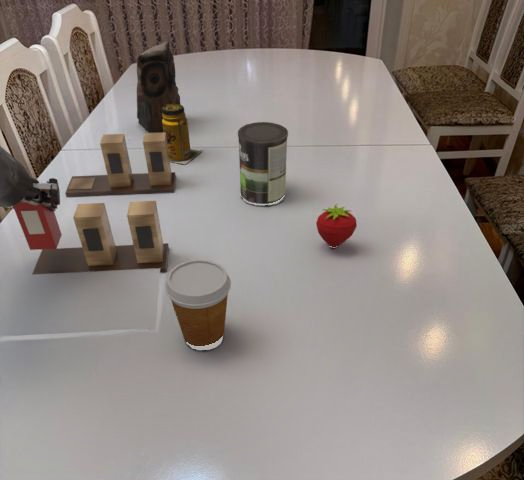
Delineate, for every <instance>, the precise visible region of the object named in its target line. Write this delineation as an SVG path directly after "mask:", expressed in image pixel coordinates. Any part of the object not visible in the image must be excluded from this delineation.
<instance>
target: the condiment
mask: <svg viewBox="0 0 524 480" xmlns="http://www.w3.org/2000/svg"><path fill="white" fill-rule="evenodd" d="M180 104H181V103H180ZM180 104H168V105H165V106H164V107H163V108H162V113H163V120H162V125H163V131H164V132H166V138H167V145H168V152H169V159H170V163H176V164H180V165H181V164H182V165H186V164H187V163H189V162H190V161H191V160H193V159H195V157H197V156H198V155H200V154H201V152H203V150H200V149H199V150H198V149H193V148H191V141H190V132H189V131H190V130H189V124H188V118H187V117H186V112H185V107H184V106H183V105H182V104H181V105H180Z"/></svg>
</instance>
